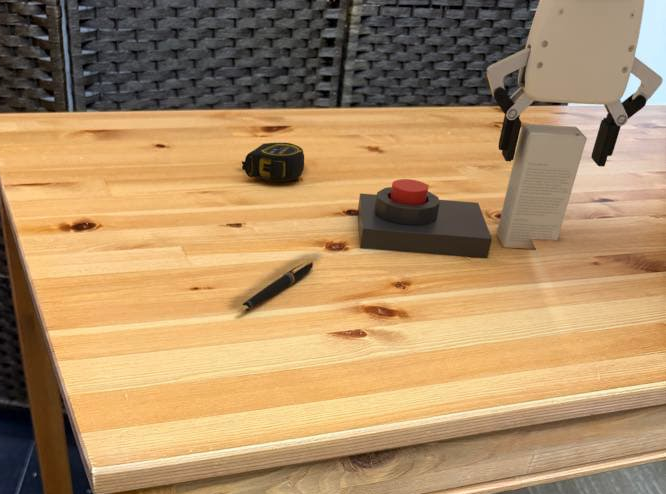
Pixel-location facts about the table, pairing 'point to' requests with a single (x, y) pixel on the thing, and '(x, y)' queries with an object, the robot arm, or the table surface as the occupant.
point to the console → (422, 226)
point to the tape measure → (275, 162)
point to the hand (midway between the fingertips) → (552, 160)
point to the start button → (409, 192)
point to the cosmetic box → (540, 184)
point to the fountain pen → (278, 285)
